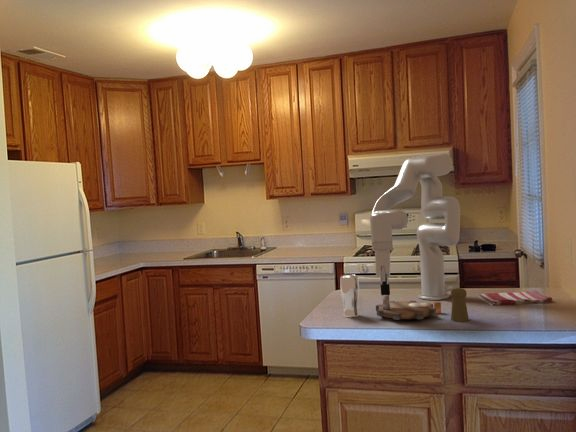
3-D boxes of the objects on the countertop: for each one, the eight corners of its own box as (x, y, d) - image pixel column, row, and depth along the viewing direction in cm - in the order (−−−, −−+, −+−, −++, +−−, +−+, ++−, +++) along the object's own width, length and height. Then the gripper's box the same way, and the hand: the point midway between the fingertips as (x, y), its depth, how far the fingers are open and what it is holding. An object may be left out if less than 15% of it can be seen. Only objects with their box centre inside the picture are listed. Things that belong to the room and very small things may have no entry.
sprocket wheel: (416, 303, 196) (415, 285, 196) (448, 315, 175) (447, 295, 175) (365, 309, 190) (364, 291, 190) (392, 322, 169) (391, 302, 169)
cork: (469, 318, 175) (468, 287, 174) (468, 322, 169) (466, 290, 169) (451, 317, 177) (450, 286, 177) (449, 321, 172) (448, 289, 172)
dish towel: (554, 304, 190) (554, 297, 190) (492, 307, 191) (492, 300, 191) (533, 295, 207) (533, 288, 207) (477, 297, 208) (476, 291, 208)
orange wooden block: (424, 307, 193) (423, 297, 193) (444, 314, 182) (444, 303, 182) (382, 314, 186) (381, 304, 186) (401, 321, 175) (400, 310, 175)
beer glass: (355, 318, 183) (353, 278, 182) (338, 316, 187) (336, 277, 186) (363, 314, 189) (361, 274, 188) (346, 312, 193) (344, 274, 192)
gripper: (373, 243, 191) (376, 290, 193) (370, 249, 177) (374, 300, 178) (393, 242, 190) (396, 289, 191) (392, 248, 175) (395, 299, 176)
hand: (385, 294), depth 185 cm, fingers closed
